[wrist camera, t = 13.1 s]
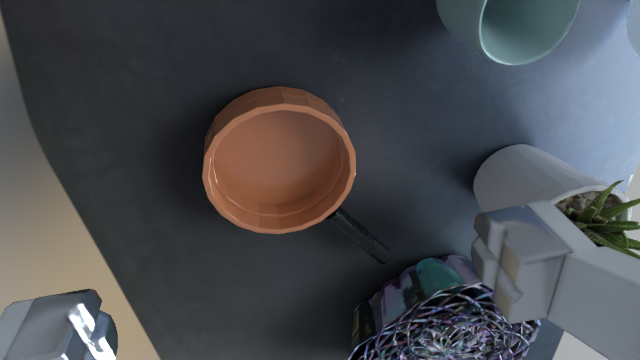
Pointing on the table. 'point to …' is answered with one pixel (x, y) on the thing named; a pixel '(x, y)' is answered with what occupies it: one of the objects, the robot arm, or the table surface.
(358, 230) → the pan handle
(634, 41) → the white lobed panel
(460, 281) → the decorative bowl
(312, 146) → the pan
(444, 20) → the cup
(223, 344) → the table surface
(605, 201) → the potted plant
